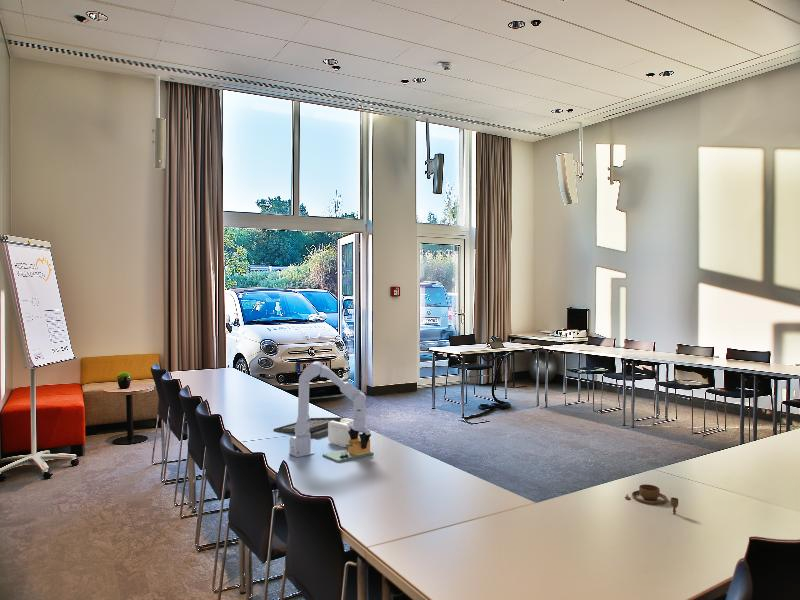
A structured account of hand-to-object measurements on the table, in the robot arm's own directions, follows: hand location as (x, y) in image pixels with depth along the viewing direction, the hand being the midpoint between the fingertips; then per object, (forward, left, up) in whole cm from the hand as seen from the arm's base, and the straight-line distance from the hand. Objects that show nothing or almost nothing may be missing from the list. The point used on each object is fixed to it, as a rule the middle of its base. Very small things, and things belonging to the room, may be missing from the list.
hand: (359, 446), depth 266 cm
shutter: (+10, +57, -4) cm, 58 cm away
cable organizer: (+5, +20, -4) cm, 21 cm away
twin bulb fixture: (-10, -2, -4) cm, 11 cm away
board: (-5, +2, -4) cm, 6 cm away
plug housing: (-1, 0, -3) cm, 3 cm away
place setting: (+46, -118, -4) cm, 126 cm away
